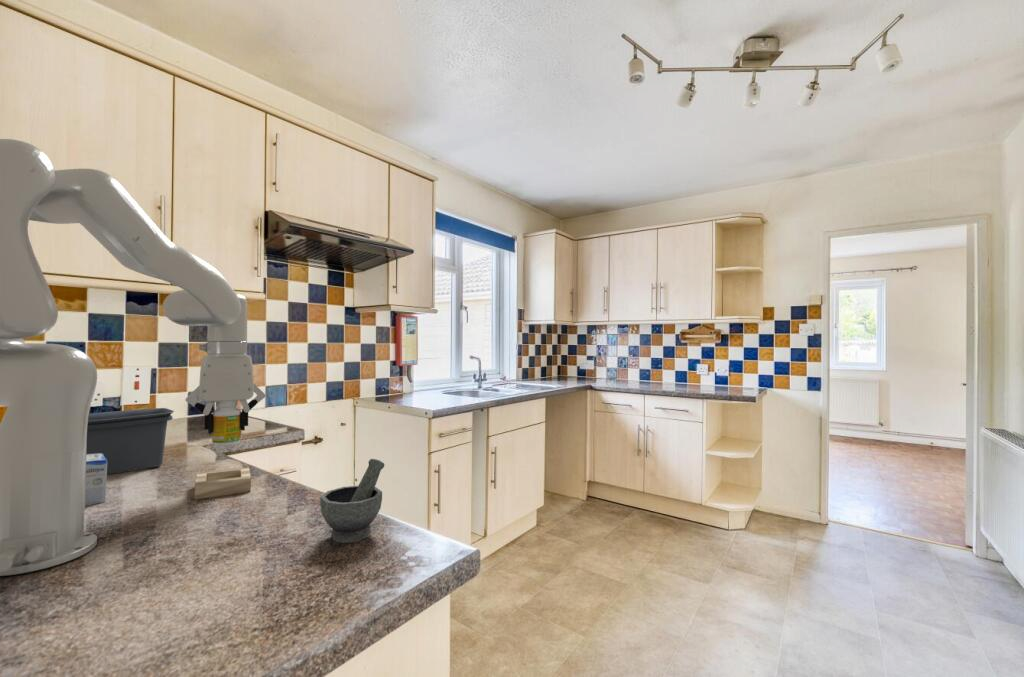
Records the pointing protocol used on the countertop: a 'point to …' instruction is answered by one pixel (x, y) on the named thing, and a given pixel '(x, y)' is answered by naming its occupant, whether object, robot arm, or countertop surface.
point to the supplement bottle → (226, 424)
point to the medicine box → (95, 479)
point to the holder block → (222, 482)
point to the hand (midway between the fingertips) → (226, 430)
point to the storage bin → (128, 438)
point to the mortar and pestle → (353, 506)
